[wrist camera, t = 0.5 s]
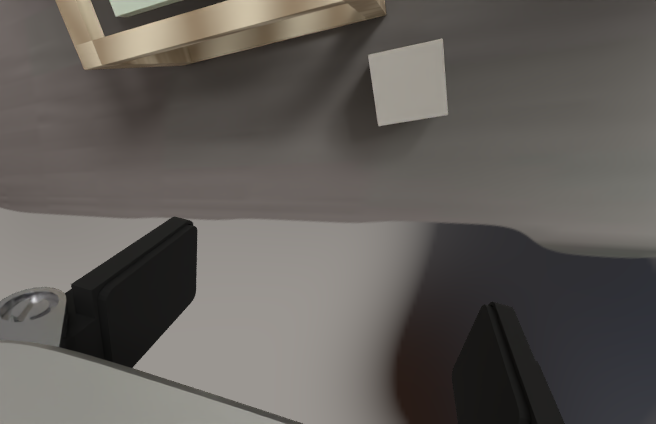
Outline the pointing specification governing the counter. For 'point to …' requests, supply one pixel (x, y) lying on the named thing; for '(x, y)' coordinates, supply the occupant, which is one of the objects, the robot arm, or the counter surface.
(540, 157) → the counter surface
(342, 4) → the frame
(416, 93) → the cube
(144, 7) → the trapdoor
